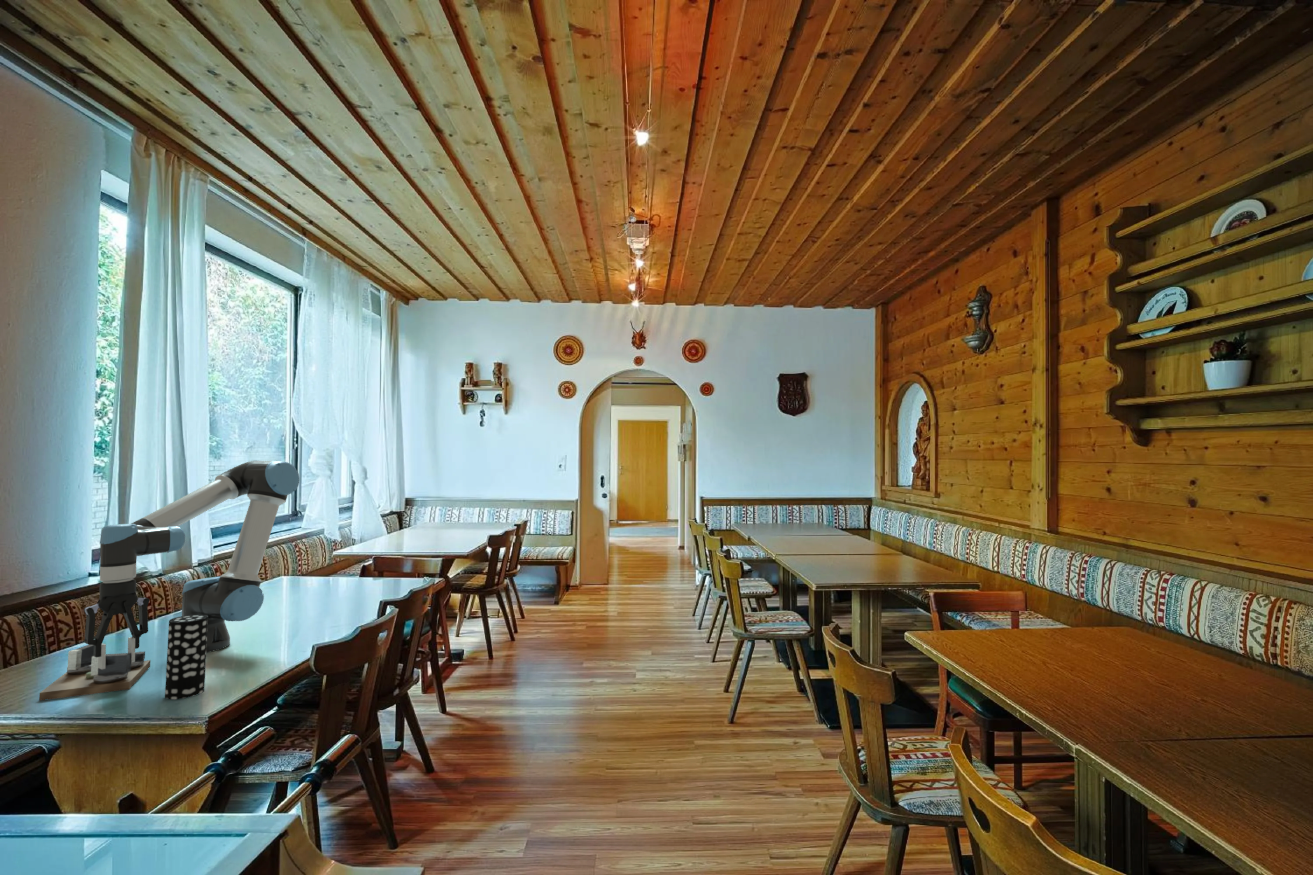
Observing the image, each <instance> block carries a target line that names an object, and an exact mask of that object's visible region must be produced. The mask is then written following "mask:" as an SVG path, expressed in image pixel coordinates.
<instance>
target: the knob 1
mask: <svg viewBox="0 0 1313 875" xmlns="http://www.w3.org/2000/svg"><path fill="white" fill-rule="evenodd" d="M93 656H94V645H88V644H86V645H83V646H80V647H78V648H75V649H71V650H69V651H68V655H67V657H68V658H67V667H66V672H67V674H83V673H88V672H91V663H92V657H93Z"/></svg>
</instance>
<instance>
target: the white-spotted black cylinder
mask: <svg viewBox="0 0 1313 875" xmlns="http://www.w3.org/2000/svg"><path fill="white" fill-rule="evenodd" d="M207 626H208V616H207V615H187V616H182V615H181V616H177V617H174V618H171V619H169V620H168V631H167V632H168V634H167V648H166V649H167V651H166V652H167V653H166V668H165V669H166V672H165V685H164V686H165V688H164V691H165V692H164V697H165V699H167V700H181V699H187V698H191V697H195V696H197V695H200V694H202V693H203V692H205V681H206V662H207V652H206V646H207Z"/></svg>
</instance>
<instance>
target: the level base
mask: <svg viewBox="0 0 1313 875" xmlns="http://www.w3.org/2000/svg"><path fill="white" fill-rule="evenodd" d="M151 661H152V660H151V659H149V660H144V664H143V665H142V666H139V667H136V668H132V669H131V671H130V672H128V677H126V678H125V679H122V680H119V681H115V682H110V683H94V682H93V679H94V676H91V672H88V673H83V674H67V671H66V672H65V673H63V674H62V675H61V676H59V677H58V678H57V679H56V680H54V681H53V682H51V684H49V685H48V686H47V687H45V688H43V690H41V691H40V692H39V696H38V697H39V699H38V701H39V700H40V701H46V700H45V699H48V700H56V699H63V698H70V697H77V696H86V695H93V694H101V693H102V694H103V693H109V692H110V693H111V692H117V691H118V692H119V691H126V690H130V689H131V688H132V687H133V686H134V684H136V682H138V680H140V678H141V677H143V675H144V674H145V673H146V672H147V671H148V670H149V669H150V668H151ZM149 667H150V668H149ZM148 668H149V669H148Z"/></svg>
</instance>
